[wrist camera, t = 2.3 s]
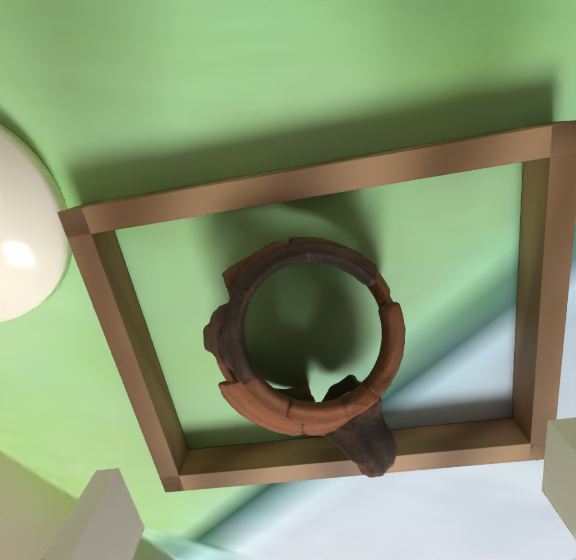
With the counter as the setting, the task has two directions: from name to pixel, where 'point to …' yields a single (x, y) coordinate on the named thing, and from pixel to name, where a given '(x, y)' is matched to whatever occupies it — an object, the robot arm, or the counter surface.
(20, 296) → the white dome
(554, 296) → the walnut frame
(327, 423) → the brown hollow round piece
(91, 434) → the counter surface
